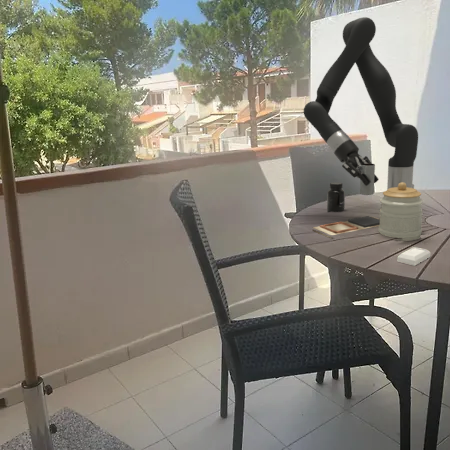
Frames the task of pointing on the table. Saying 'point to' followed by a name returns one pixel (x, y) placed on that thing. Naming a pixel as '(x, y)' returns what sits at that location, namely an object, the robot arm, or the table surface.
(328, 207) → the supplement bottle
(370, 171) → the grey tumbler
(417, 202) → the jar
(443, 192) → the table surface
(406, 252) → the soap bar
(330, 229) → the board
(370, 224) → the pad
